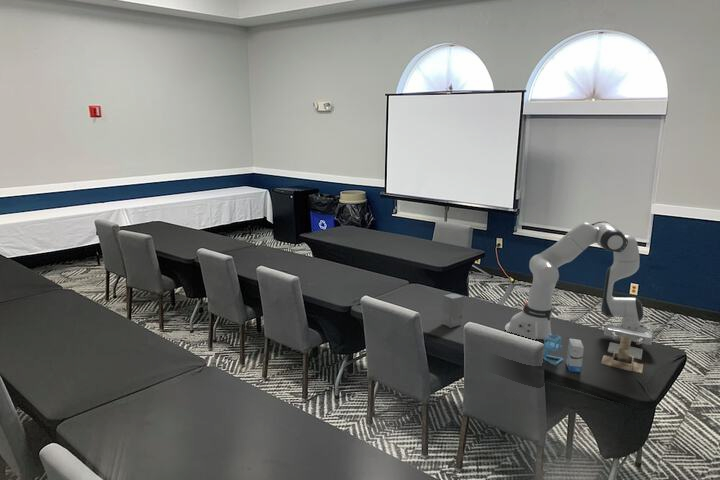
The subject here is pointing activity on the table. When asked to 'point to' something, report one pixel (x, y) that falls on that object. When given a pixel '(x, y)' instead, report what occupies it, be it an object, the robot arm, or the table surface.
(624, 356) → the block
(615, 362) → the tan frame holder
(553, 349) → the chair
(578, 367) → the ink box
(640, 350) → the board
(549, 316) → the robot arm
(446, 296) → the skincare box
